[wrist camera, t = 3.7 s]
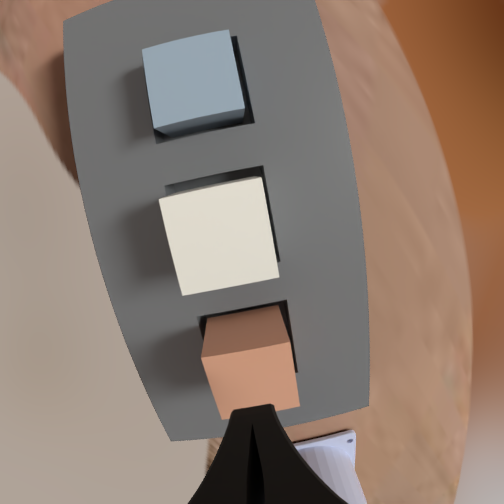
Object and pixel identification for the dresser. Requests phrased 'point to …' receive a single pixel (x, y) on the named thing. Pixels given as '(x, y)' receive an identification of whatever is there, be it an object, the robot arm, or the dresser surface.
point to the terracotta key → (249, 361)
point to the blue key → (193, 84)
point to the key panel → (217, 171)
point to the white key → (220, 235)
